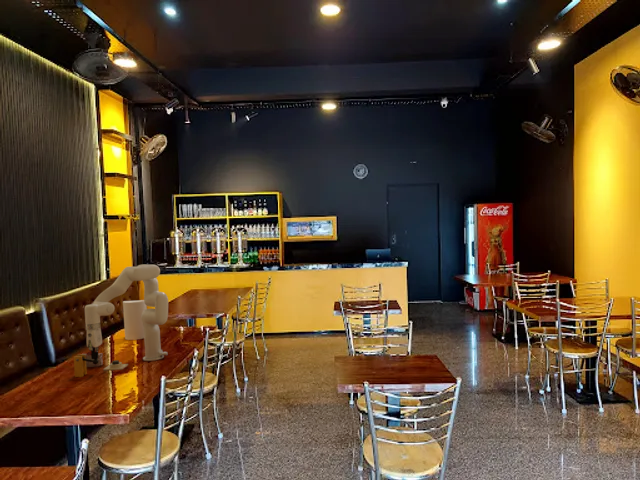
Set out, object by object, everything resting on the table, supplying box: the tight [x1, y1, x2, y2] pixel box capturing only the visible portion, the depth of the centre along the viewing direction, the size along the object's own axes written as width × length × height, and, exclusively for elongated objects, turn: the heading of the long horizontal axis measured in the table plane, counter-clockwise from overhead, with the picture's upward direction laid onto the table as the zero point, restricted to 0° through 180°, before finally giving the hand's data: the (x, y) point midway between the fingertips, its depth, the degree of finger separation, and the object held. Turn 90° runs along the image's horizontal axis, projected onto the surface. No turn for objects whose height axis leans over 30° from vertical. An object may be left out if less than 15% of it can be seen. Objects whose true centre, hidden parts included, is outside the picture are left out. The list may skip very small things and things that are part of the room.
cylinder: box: [122, 299, 148, 341], centre depth 381 cm, size 17×17×28 cm
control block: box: [103, 361, 129, 372], centre depth 294 cm, size 11×9×4 cm
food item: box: [84, 351, 104, 368], centre depth 302 cm, size 14×8×10 cm, turn 93°
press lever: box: [82, 356, 99, 364], centre depth 281 cm, size 12×3×3 cm, turn 91°
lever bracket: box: [73, 353, 88, 378], centre depth 281 cm, size 10×8×13 cm
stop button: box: [111, 359, 120, 365], centre depth 294 cm, size 4×4×2 cm
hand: (95, 358), depth 281 cm, fingers closed
